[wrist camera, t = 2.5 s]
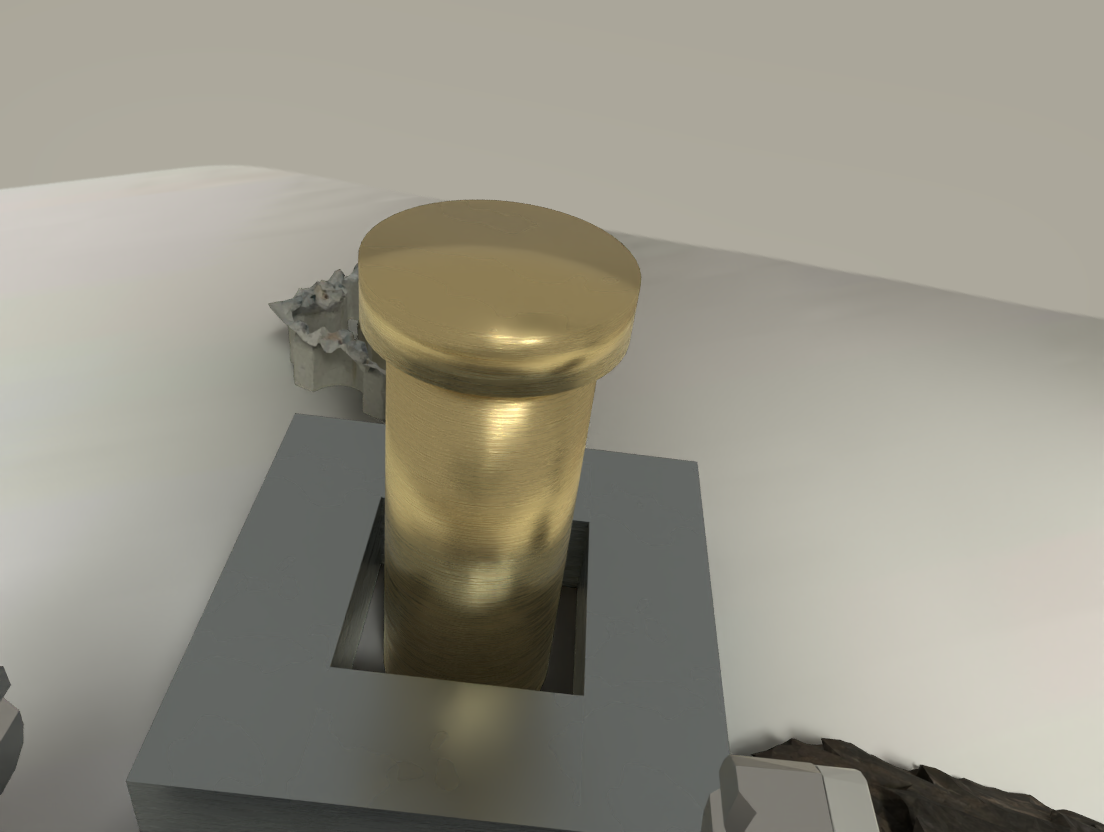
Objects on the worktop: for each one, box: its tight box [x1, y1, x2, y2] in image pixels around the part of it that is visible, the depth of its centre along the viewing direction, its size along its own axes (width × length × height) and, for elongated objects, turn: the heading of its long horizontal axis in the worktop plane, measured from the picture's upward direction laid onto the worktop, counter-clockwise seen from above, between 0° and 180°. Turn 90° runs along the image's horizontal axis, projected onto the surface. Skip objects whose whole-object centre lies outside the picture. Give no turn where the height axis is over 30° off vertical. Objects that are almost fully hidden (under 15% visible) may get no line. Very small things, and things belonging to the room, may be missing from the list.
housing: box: [126, 413, 730, 832], centre depth 28 cm, size 14×14×3 cm
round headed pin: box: [358, 200, 641, 691], centre depth 25 cm, size 6×6×14 cm
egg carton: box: [269, 264, 386, 420], centre depth 39 cm, size 11×8×4 cm
